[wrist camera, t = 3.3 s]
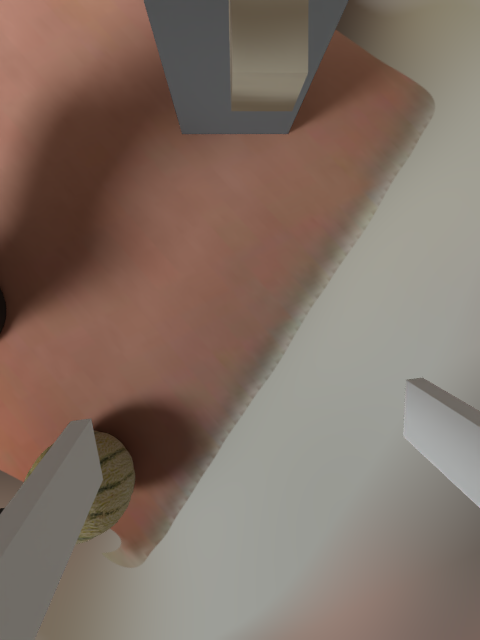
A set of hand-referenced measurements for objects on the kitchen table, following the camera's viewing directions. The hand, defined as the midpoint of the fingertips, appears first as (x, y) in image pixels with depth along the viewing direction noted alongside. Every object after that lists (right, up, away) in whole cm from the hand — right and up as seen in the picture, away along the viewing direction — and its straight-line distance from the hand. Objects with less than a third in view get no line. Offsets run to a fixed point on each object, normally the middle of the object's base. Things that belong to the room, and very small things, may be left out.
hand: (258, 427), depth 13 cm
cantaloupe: (-24, -19, +41) cm, 51 cm away
